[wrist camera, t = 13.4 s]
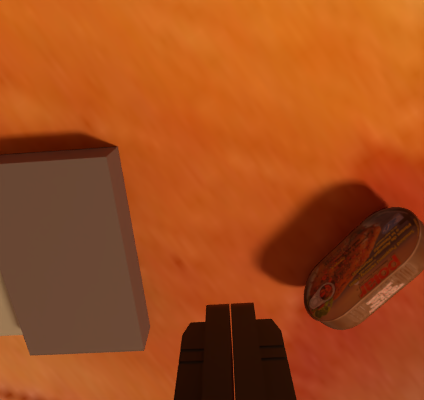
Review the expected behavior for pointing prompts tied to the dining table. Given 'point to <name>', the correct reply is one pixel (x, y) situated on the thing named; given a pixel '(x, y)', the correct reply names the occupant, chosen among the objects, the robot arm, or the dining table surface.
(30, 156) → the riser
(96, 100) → the dining table surface
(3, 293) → the mat
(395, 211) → the tin
